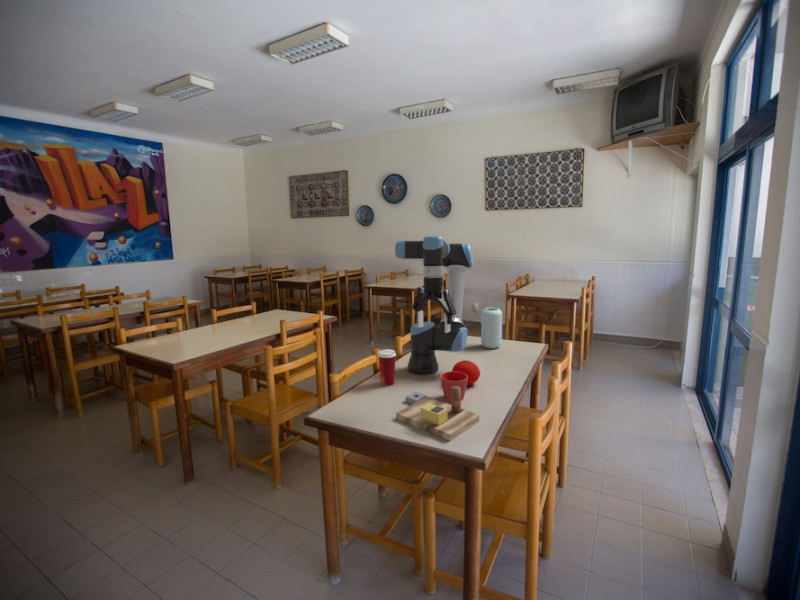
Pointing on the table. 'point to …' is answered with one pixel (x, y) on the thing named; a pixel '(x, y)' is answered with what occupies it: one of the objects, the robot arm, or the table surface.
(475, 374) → the tomato
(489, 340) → the vase
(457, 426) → the subfloor panel
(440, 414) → the block
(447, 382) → the flower pot
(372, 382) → the table surface
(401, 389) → the table surface
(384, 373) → the coffee cup
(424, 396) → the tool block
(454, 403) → the brown rounded cylinder
